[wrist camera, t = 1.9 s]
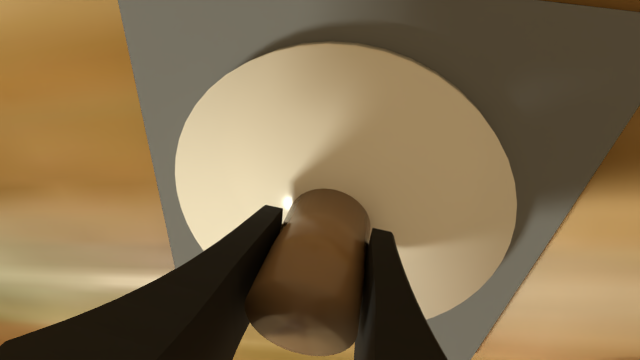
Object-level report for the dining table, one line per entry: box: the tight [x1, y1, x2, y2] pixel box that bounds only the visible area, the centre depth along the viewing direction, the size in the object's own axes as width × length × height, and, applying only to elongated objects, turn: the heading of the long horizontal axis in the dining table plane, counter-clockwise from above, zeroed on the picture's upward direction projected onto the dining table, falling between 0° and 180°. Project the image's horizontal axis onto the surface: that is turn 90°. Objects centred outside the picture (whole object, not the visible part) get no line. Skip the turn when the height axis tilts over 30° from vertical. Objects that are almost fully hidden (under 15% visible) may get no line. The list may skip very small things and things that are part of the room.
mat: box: [118, 0, 640, 360], centre depth 12 cm, size 15×15×1 cm
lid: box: [175, 41, 517, 356], centre depth 10 cm, size 12×12×5 cm
